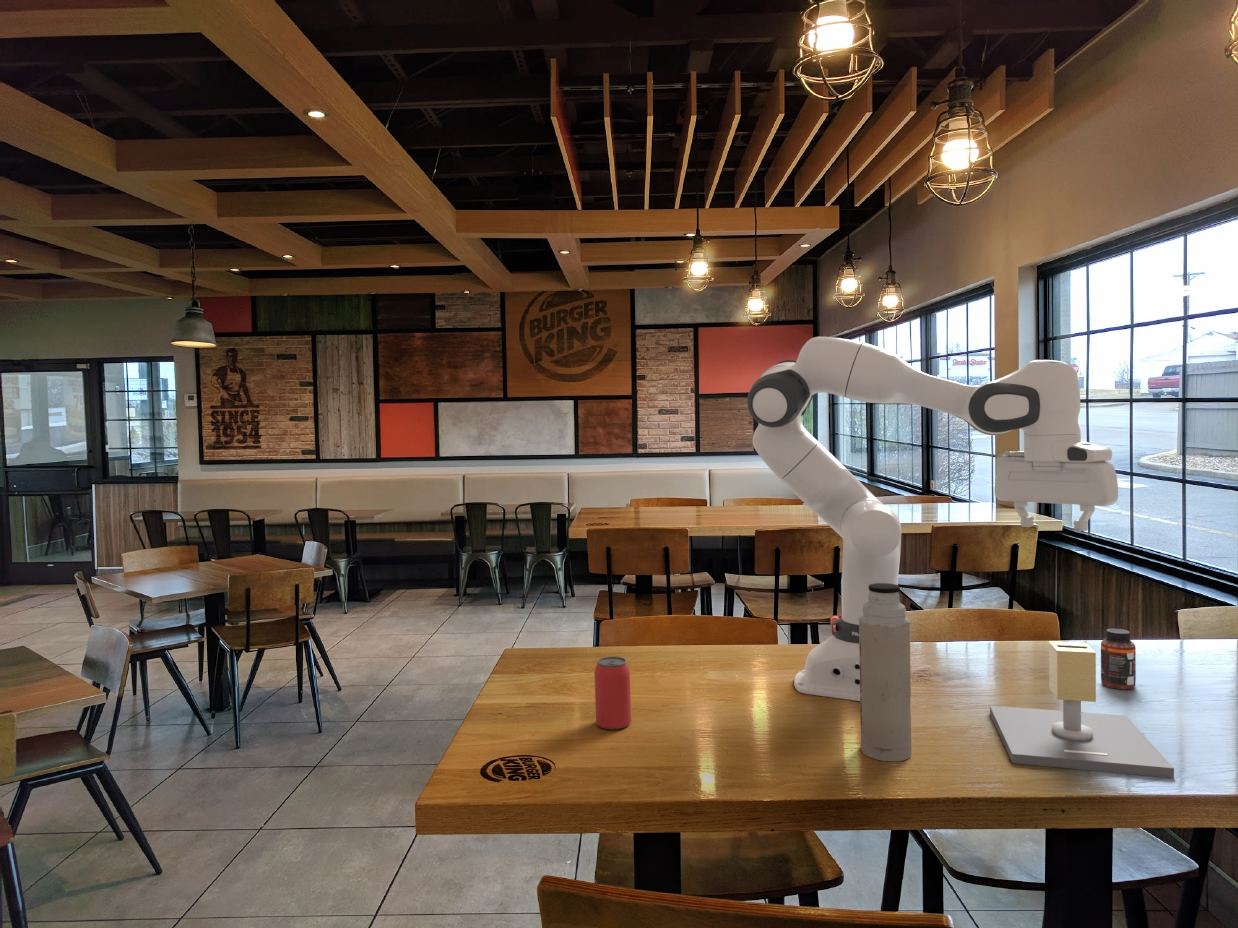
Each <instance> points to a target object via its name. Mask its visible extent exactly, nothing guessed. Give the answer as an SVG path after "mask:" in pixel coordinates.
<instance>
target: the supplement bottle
mask: <svg viewBox="0 0 1238 928" xmlns="http://www.w3.org/2000/svg"><path fill="white" fill-rule="evenodd" d="M1105 632H1106V633H1105V636H1106V638H1104V639H1103V640H1101V642H1100V681H1101V683H1102V685H1103V686H1106V687H1108V688H1111V689H1115V690H1132V689H1133V690H1134V688H1135V687H1136V682H1137V681H1136V680H1137V679H1136V675H1137V674H1136V673H1137V672H1136V671H1137V670H1136V667H1137V666H1136V661H1137V660H1136V657H1137V656H1136V655H1137V654H1136V653H1137V652H1136V644H1135V642H1132V641H1131V633H1130V631H1129V630H1126V629H1122V628H1107V629H1106V631H1105Z"/></svg>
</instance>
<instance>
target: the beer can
mask: <svg viewBox="0 0 1238 928" xmlns="http://www.w3.org/2000/svg"><path fill="white" fill-rule="evenodd" d="M627 663H628V661H627V659H626V658H624V657H621V656H605V657H601V658H599V659H598V660H597V661H596V666H595V669H594V701H595V703H594V704H595V705H594V707H595V723H596V725H597V726H598V727H600V728H602V729H603V730H611V731H612V730H613V731H615V730H617V731H618V730H620V729H624V728H627V727H628V726H629V725H630V724H631V722H632V707H631V706H632V704H631V701H632V699H631V673H630V668H629V665H628V664H627Z"/></svg>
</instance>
